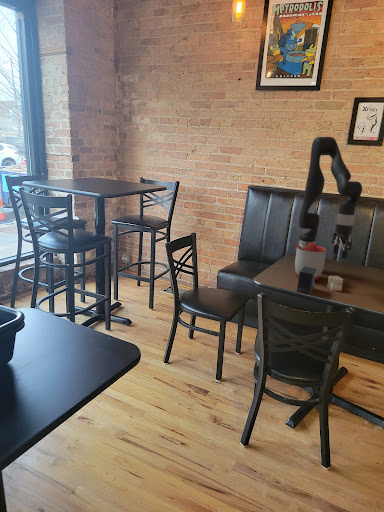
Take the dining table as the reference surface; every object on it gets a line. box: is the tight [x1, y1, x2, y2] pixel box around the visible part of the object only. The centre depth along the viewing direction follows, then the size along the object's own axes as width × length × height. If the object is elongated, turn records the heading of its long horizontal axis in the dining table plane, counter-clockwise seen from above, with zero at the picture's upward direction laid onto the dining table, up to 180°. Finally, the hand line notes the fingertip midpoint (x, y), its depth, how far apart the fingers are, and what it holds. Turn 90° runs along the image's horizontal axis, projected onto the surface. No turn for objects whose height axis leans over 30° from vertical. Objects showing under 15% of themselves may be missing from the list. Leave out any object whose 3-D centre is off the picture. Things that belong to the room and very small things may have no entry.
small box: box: [296, 267, 317, 295], centre depth 176 cm, size 11×6×10 cm, turn 150°
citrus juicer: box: [294, 242, 327, 281], centre depth 195 cm, size 16×17×20 cm
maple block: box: [326, 275, 344, 292], centre depth 180 cm, size 5×5×6 cm
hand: (339, 255), depth 176 cm, fingers open, 8 cm apart
